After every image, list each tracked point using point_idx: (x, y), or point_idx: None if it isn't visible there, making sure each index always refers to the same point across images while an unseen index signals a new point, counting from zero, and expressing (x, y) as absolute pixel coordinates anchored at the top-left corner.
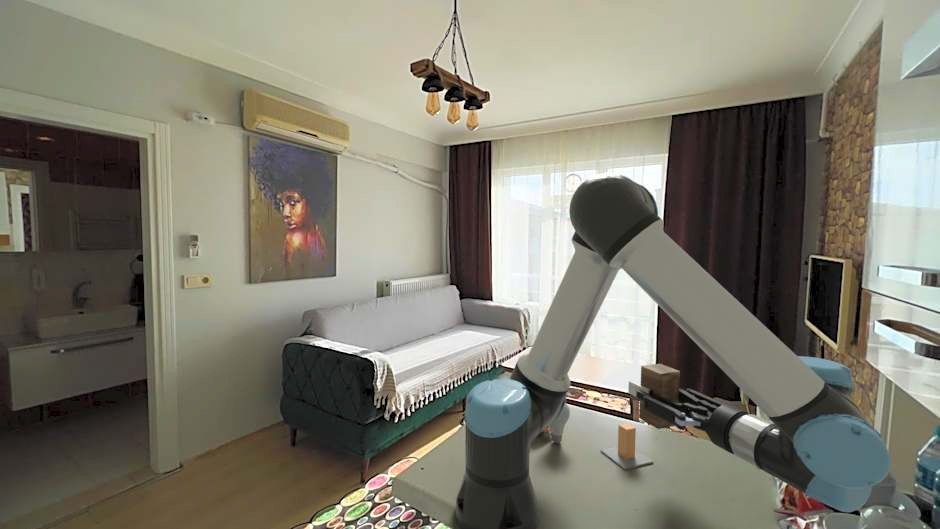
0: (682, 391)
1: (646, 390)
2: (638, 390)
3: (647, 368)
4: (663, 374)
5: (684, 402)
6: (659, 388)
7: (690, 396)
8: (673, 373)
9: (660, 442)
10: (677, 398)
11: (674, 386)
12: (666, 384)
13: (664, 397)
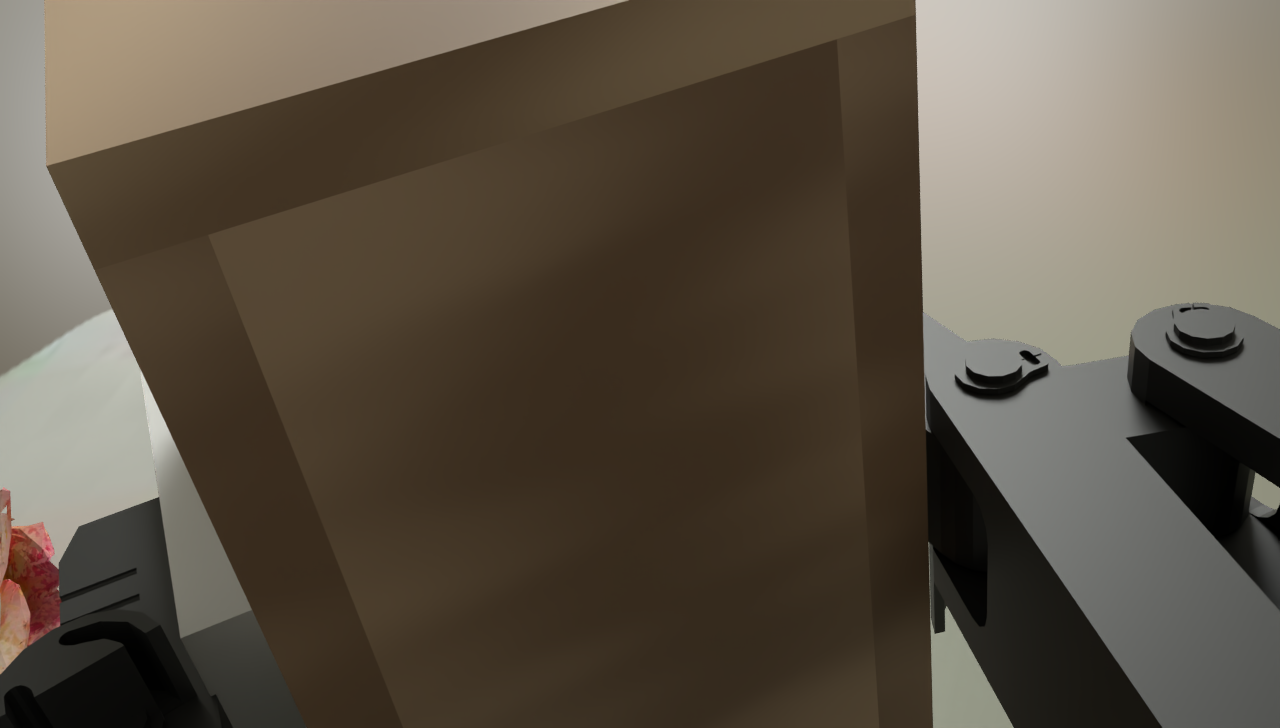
0: (1017, 437)
1: (169, 559)
2: (110, 530)
3: (49, 19)
4: (223, 157)
5: (1040, 715)
6: (248, 596)
7: (1190, 665)
8: (674, 38)
9: (932, 647)
10: (898, 604)
11: (776, 396)
12: (473, 429)
13: (510, 723)
